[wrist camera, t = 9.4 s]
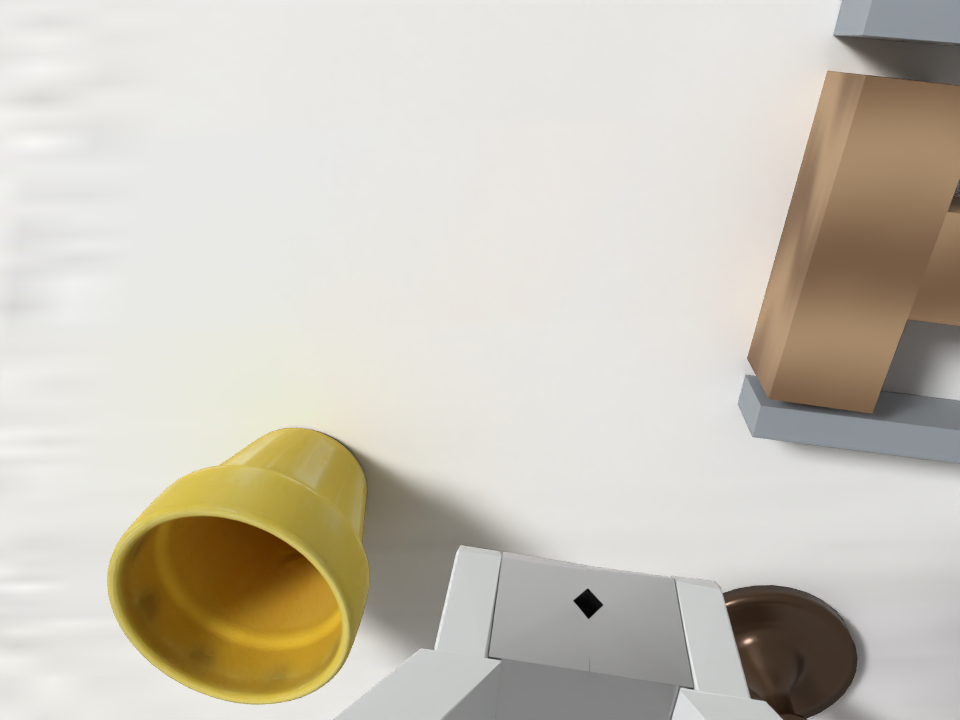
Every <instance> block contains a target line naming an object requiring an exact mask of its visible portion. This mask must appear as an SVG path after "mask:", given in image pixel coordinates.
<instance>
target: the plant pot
mask: <svg viewBox="0 0 960 720" xmlns="http://www.w3.org/2000/svg"><path fill="white" fill-rule="evenodd" d="M366 497H367V483H366V479H365V475H364V473H363V470H362V468H361V466H360V464H359V463H358V461H357V460H356V458H355V457H354V456H353V455H352V454H351V452H350V451H348V450H347V449H346V448H345V447H344V446H343V445H342V444H340V443H339V442H338V441H336V440H334V439H333V438H331V437H329V436H327V435H325V434H323V433H320V432H317V431H314V430H310V429H304V428H284V429H279V430H276V431H272V432H270V433H268V434H266V435H264V436H262V437H260V438H259V439H257V440H256V441H254V442H253V443H251V444H250V445H248V446H247V447H246V448H244V449H243V450H241V451H240V452H238V453H237V454H235V455H234V456H232V457H231V458H229V459H228V460H226V461H225V462H223V463H222V464H220V465H219V466H213V467H208V468H204V469H201V470H198V471H195V472H192V473H190V474H188V475H186V476H184V477H182V478H180V479H178V480H177V481H176V482H174V483H173V484H172V485H170V486H169V487H168V488H167V489H166V490H165V491H164V492H162V493H161V494H160V495H159V496H158V497H157V498H156V499H155V500H154V501H153V502H152V503H151V504H150V505H149V506H148V507H147V509H146V510H145V511H144V512H143V513H142V514H141V515H140V516H139V517H138V518H137V519H136V521H135V522H134V523H133V524H132V525H131V526H130V527H129V529H128V530H127V531H126V532H125V533H124V535H123V536H122V537H121V539H120V541H119V542H118V544H117V546H116V547H115V549H114V552H113V554H112V557H111V560H110V563H109V568H108V577H107V587H108V595H109V600H110V603H111V606H112V609H113V612H114V615H115V617H116V619H117V621H118V623H119V625H120V627H121V628H122V630H123V632H124V633H125V635H126V636H127V638H128V639H129V640H130V642H131V643H132V644H133V645H134V646H135V648H136V649H137V650H138V651H139V652H140V653H141V654H142V655H143V656H144V657H145V658H146V659H147V660H148V661H149V662H150V663H151V664H152V665H154V666H155V667H156V668H158V669H159V670H160V671H162V672H163V673H164V674H166V675H167V676H169V677H170V678H172V679H174V680H175V681H177V682H179V683H181V684H183V685H185V686H186V687H188V688H190V689H193V690H195V691H197V692H200V693H203V694H205V695H208V696H211V697H214V698H217V699H221V700H225V701H230V702H235V703H243V704H273V703H281V702H286V701H291V700H294V699H297V698H301V697H303V696H306V695H308V694H310V693H312V692H314V691H316V690H318V689H319V688H321V687H322V686H324V685H325V684H326V683H328V682H329V681H330V680H331V679H332V678H333V677H334V676H335V675H336V674H337V673H338V672H339V670H340V669H341V668H342V666H343V665H344V663H345V661H346V659H347V657H348V655H349V653H350V651H351V648H352V645H353V643H354V640H355V637H356V634H357V631H358V628H359V625H360V622H361V619H362V615H363V612H364V608H365V604H366V600H367V596H368V591H369V582H370V576H369V565H368V561H367V556H366V553H365V550H364V547H363V545H362V538H363V528H364V516H365V506H366Z"/></svg>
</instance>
